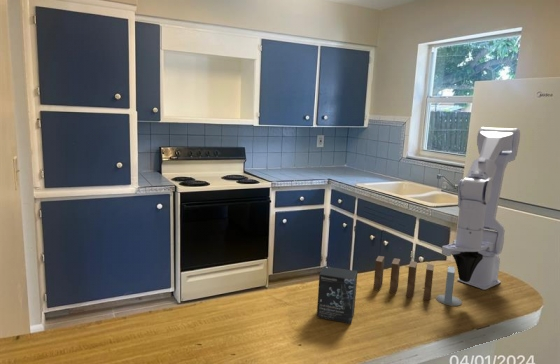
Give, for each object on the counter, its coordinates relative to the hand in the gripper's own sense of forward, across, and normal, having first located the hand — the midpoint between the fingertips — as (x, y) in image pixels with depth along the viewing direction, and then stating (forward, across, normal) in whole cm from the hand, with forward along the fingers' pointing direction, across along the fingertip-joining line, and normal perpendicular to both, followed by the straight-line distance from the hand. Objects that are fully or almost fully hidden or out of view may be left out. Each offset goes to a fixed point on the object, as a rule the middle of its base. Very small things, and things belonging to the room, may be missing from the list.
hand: (464, 280), depth 100 cm
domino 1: (+6, +14, -15) cm, 22 cm away
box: (+6, +34, -4) cm, 34 cm away
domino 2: (+6, +12, -12) cm, 18 cm away
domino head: (+6, +2, -2) cm, 7 cm away
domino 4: (+6, +6, -6) cm, 10 cm away
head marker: (+6, +2, -2) cm, 7 cm away
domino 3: (+6, +9, -9) cm, 14 cm away
